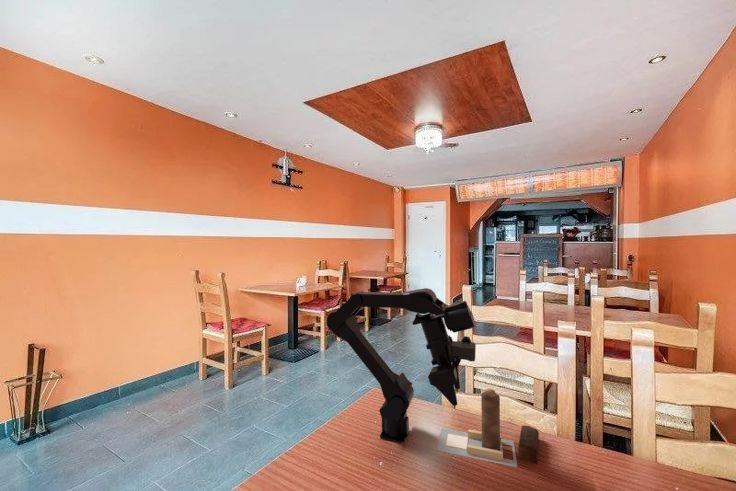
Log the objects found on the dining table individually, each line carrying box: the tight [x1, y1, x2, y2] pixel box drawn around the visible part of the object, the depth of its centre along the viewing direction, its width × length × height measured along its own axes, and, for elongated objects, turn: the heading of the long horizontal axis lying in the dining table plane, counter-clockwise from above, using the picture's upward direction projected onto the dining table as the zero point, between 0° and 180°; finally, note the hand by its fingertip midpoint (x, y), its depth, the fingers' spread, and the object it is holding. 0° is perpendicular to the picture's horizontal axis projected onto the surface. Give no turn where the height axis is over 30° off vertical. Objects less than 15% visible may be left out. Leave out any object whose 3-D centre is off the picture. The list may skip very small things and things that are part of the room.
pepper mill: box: [480, 388, 501, 451], centre depth 79 cm, size 4×4×14 cm
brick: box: [517, 425, 540, 465], centre depth 79 cm, size 11×4×5 cm, turn 150°
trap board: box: [436, 427, 518, 468], centre depth 80 cm, size 18×10×3 cm, turn 70°
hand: (457, 396), depth 81 cm, fingers open, 9 cm apart
